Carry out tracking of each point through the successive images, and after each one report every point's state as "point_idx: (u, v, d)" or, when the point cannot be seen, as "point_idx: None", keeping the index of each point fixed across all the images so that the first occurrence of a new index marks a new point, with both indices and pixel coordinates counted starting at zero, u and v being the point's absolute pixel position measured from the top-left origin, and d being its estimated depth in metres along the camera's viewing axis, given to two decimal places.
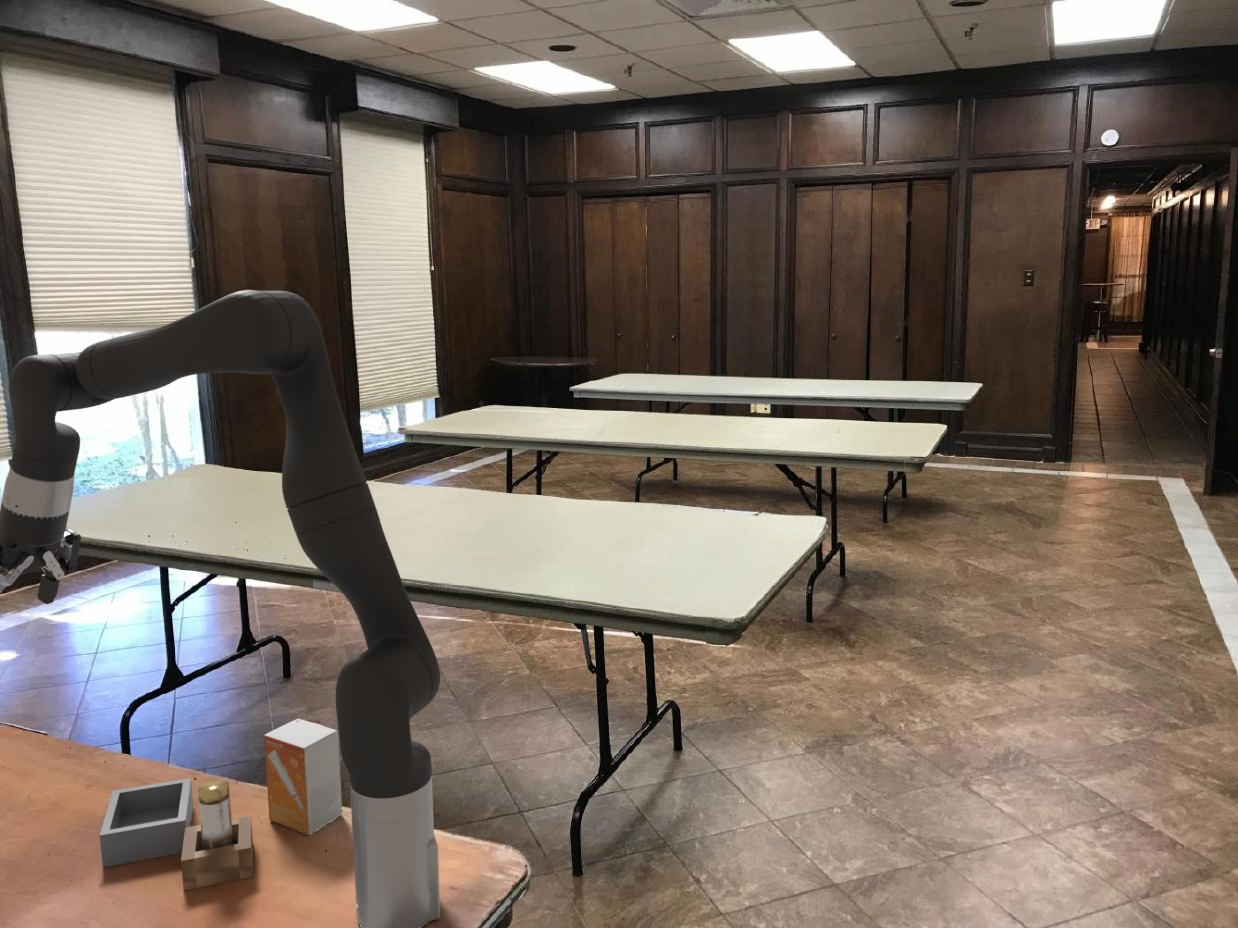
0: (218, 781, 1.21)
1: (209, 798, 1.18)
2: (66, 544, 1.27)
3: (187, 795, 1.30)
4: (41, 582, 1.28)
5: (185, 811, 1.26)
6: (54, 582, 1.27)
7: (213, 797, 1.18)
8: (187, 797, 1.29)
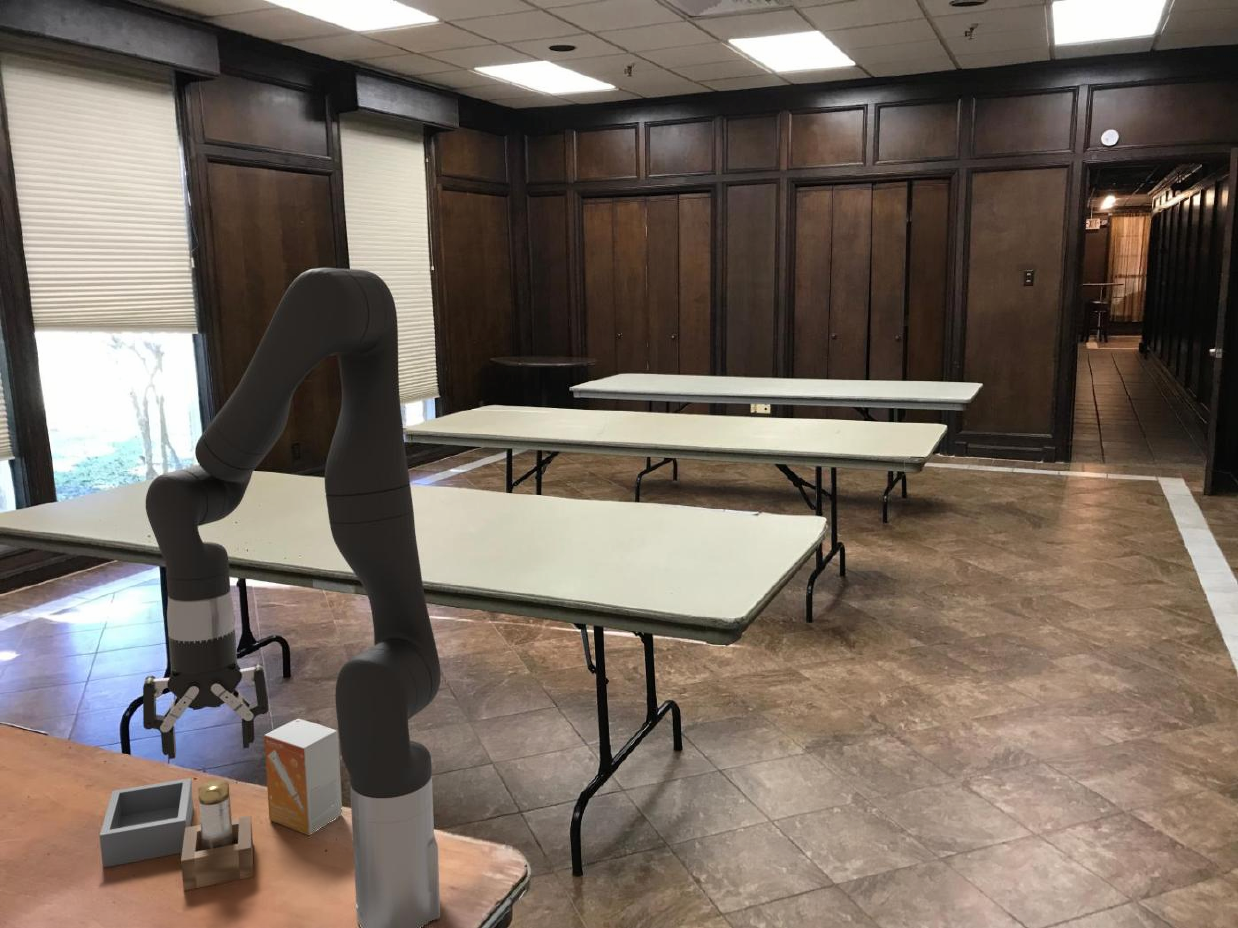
0: (218, 781, 1.21)
1: (209, 798, 1.18)
2: (251, 680, 1.18)
3: (187, 795, 1.30)
4: None
5: (185, 811, 1.26)
6: (243, 722, 1.18)
7: (213, 797, 1.18)
8: (187, 797, 1.29)
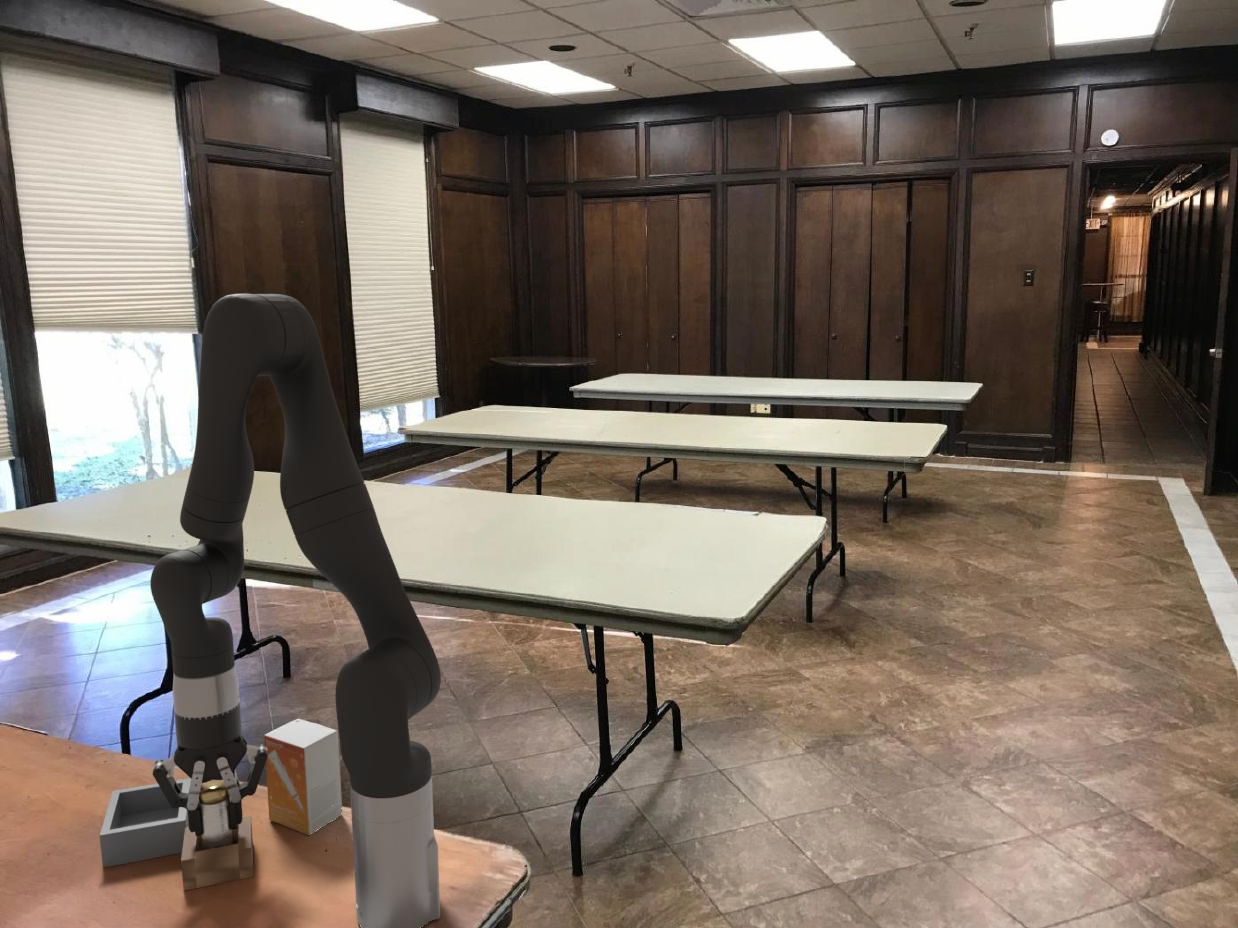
0: (218, 781, 1.21)
1: (209, 798, 1.18)
2: (252, 759, 1.20)
3: None
4: None
5: (185, 811, 1.26)
6: (230, 804, 1.19)
7: (213, 797, 1.18)
8: None
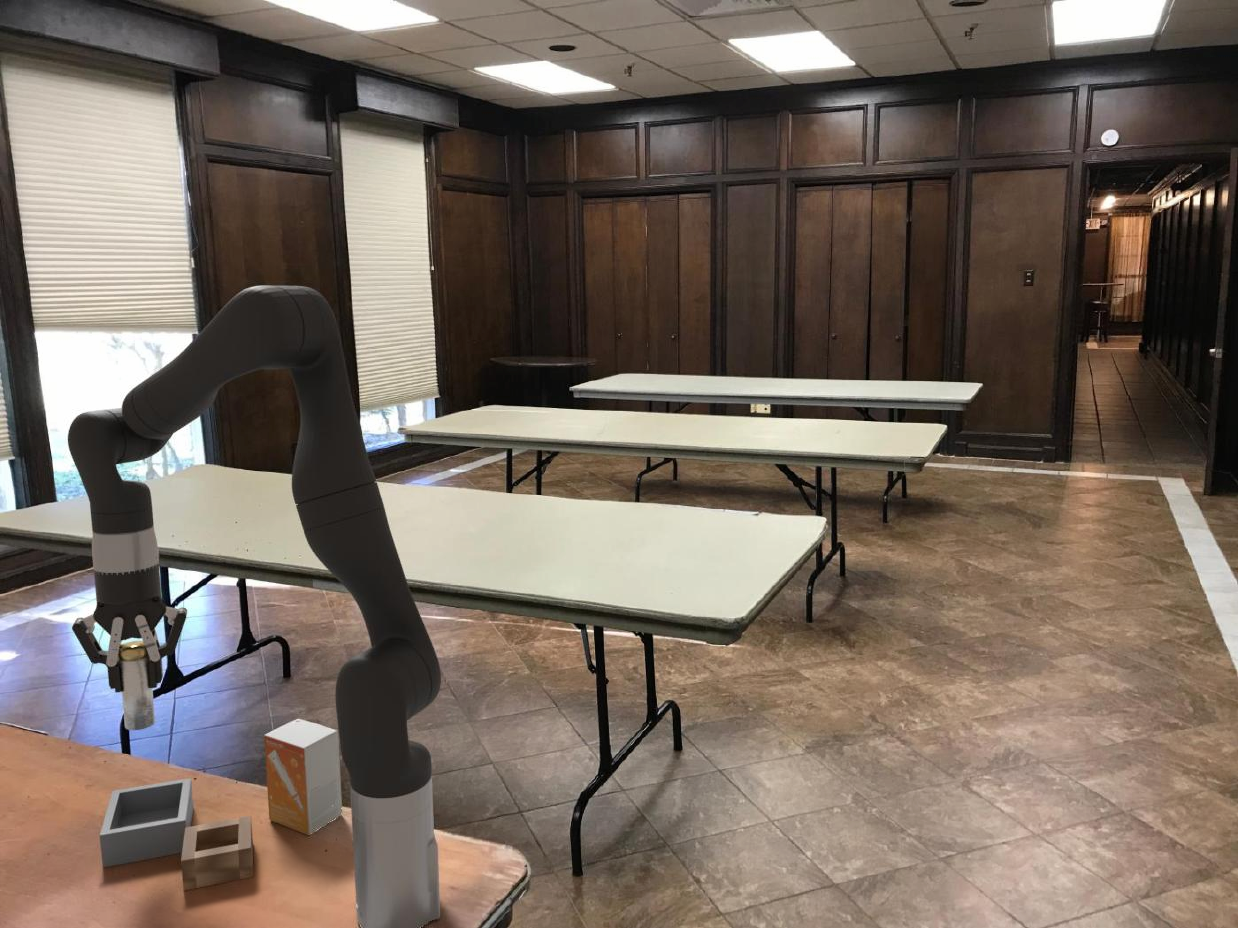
0: (139, 642, 1.25)
1: (128, 655, 1.22)
2: (171, 620, 1.24)
3: (187, 795, 1.30)
4: None
5: (185, 811, 1.26)
6: (150, 663, 1.23)
7: (132, 654, 1.22)
8: (187, 797, 1.29)
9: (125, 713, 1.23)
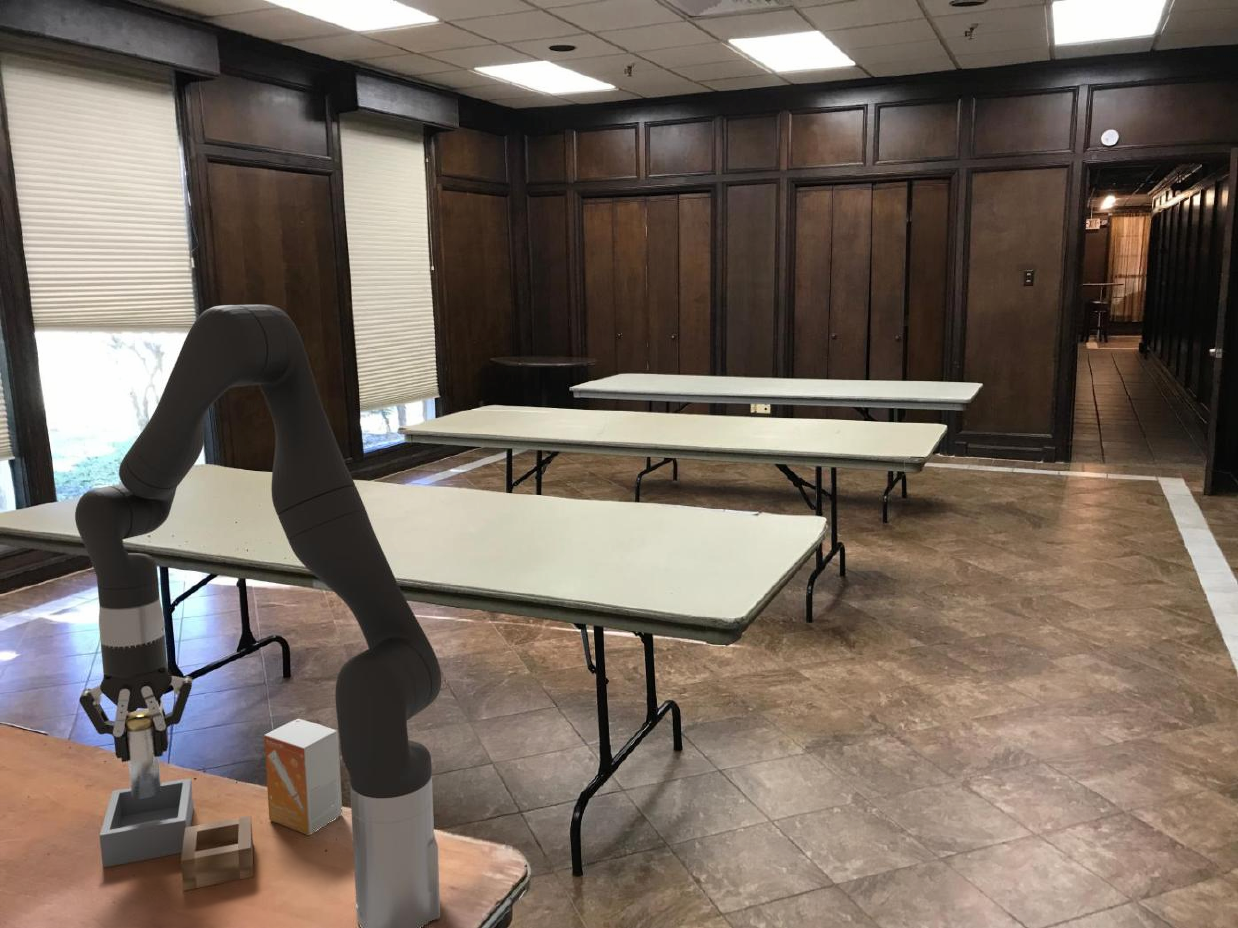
0: (145, 710, 1.26)
1: (135, 725, 1.23)
2: (177, 689, 1.26)
3: (187, 795, 1.30)
4: None
5: (185, 811, 1.26)
6: (156, 732, 1.25)
7: (138, 724, 1.24)
8: (187, 797, 1.29)
9: (132, 781, 1.25)
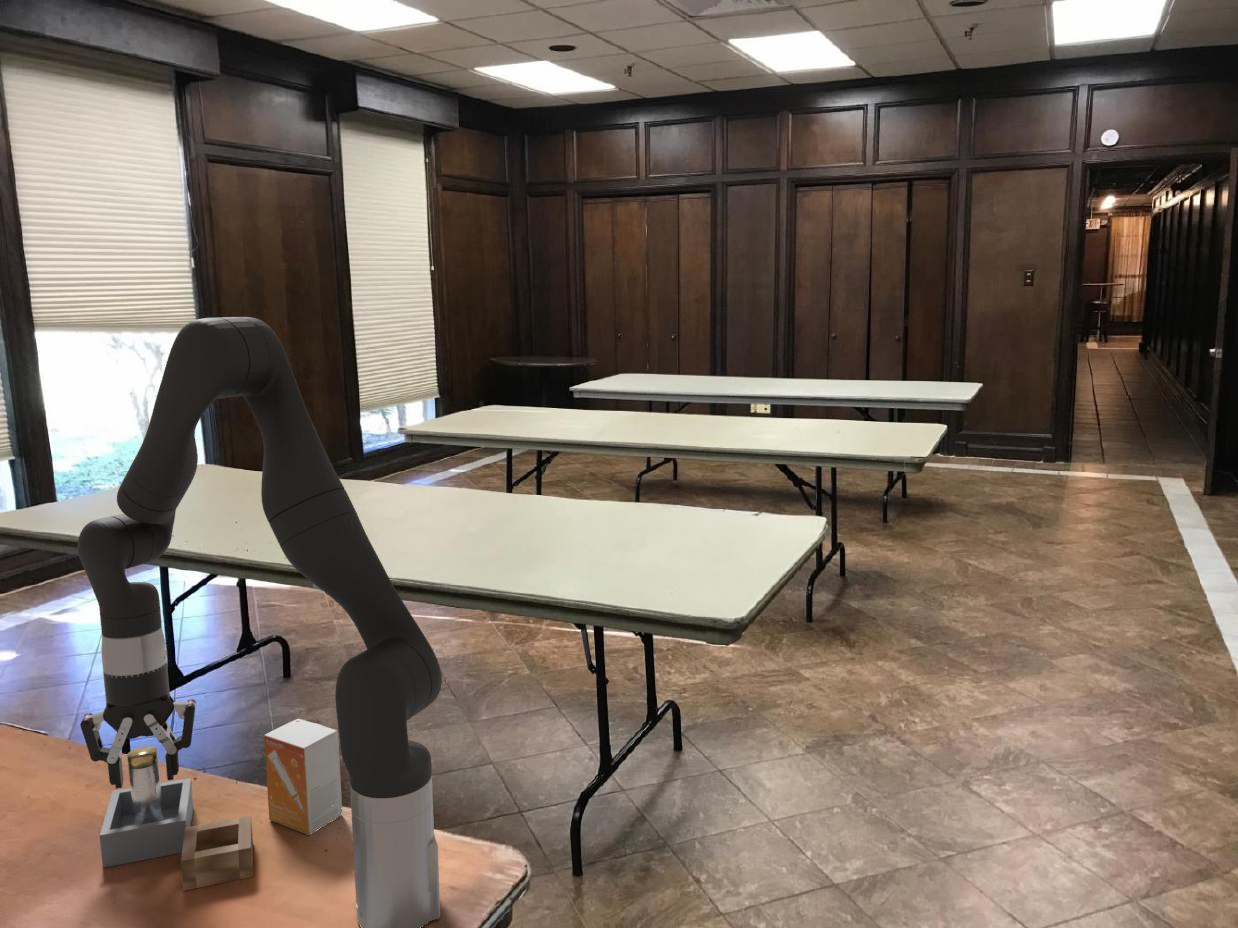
0: (147, 747, 1.27)
1: (137, 763, 1.24)
2: (181, 714, 1.26)
3: (187, 795, 1.30)
4: None
5: (185, 811, 1.26)
6: (166, 756, 1.26)
7: (141, 761, 1.25)
8: (187, 797, 1.29)
9: (136, 819, 1.26)
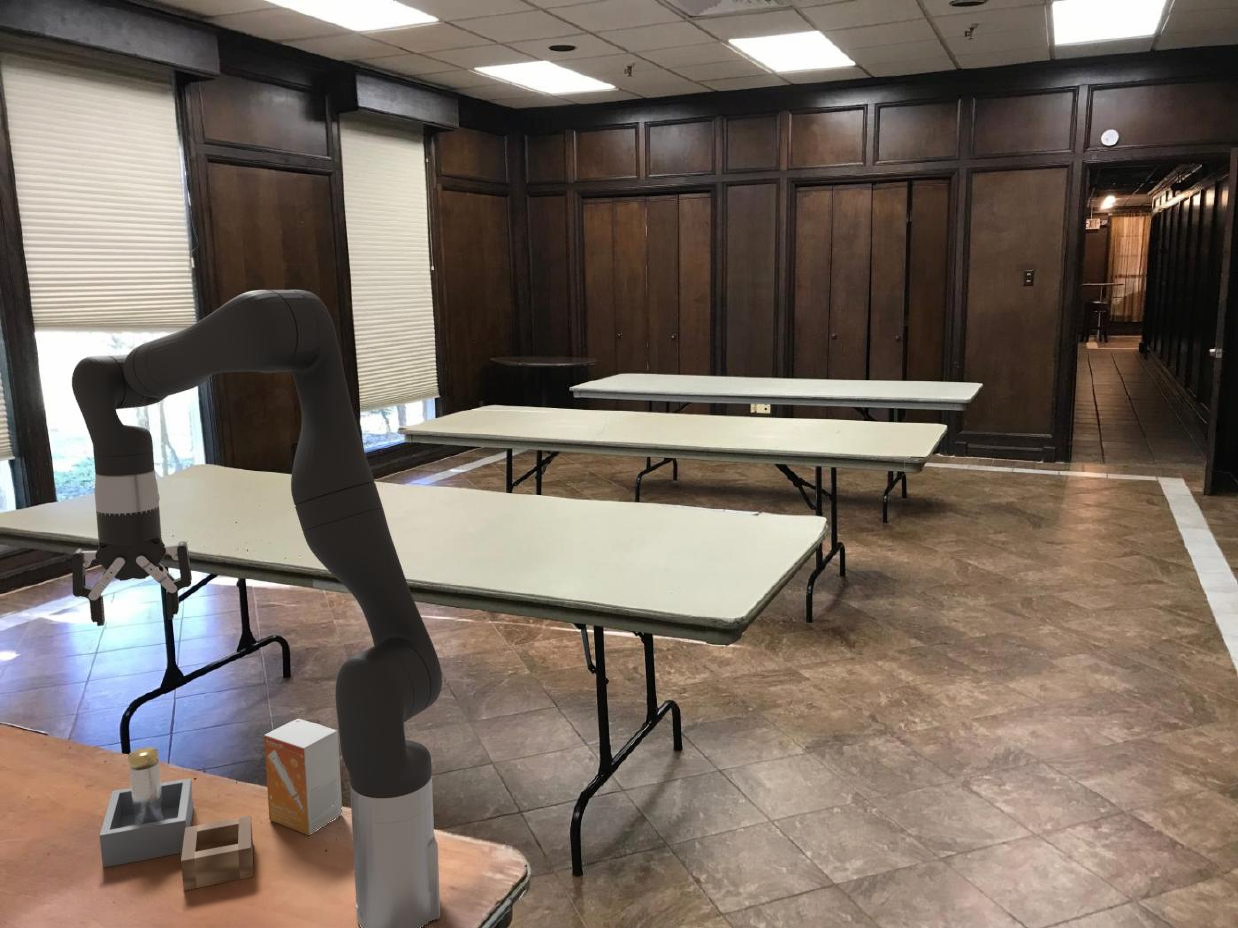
0: (148, 748, 1.27)
1: (138, 764, 1.24)
2: (174, 556, 1.28)
3: (187, 795, 1.30)
4: None
5: (185, 811, 1.26)
6: (167, 594, 1.28)
7: (142, 763, 1.24)
8: (187, 797, 1.29)
9: (136, 819, 1.26)
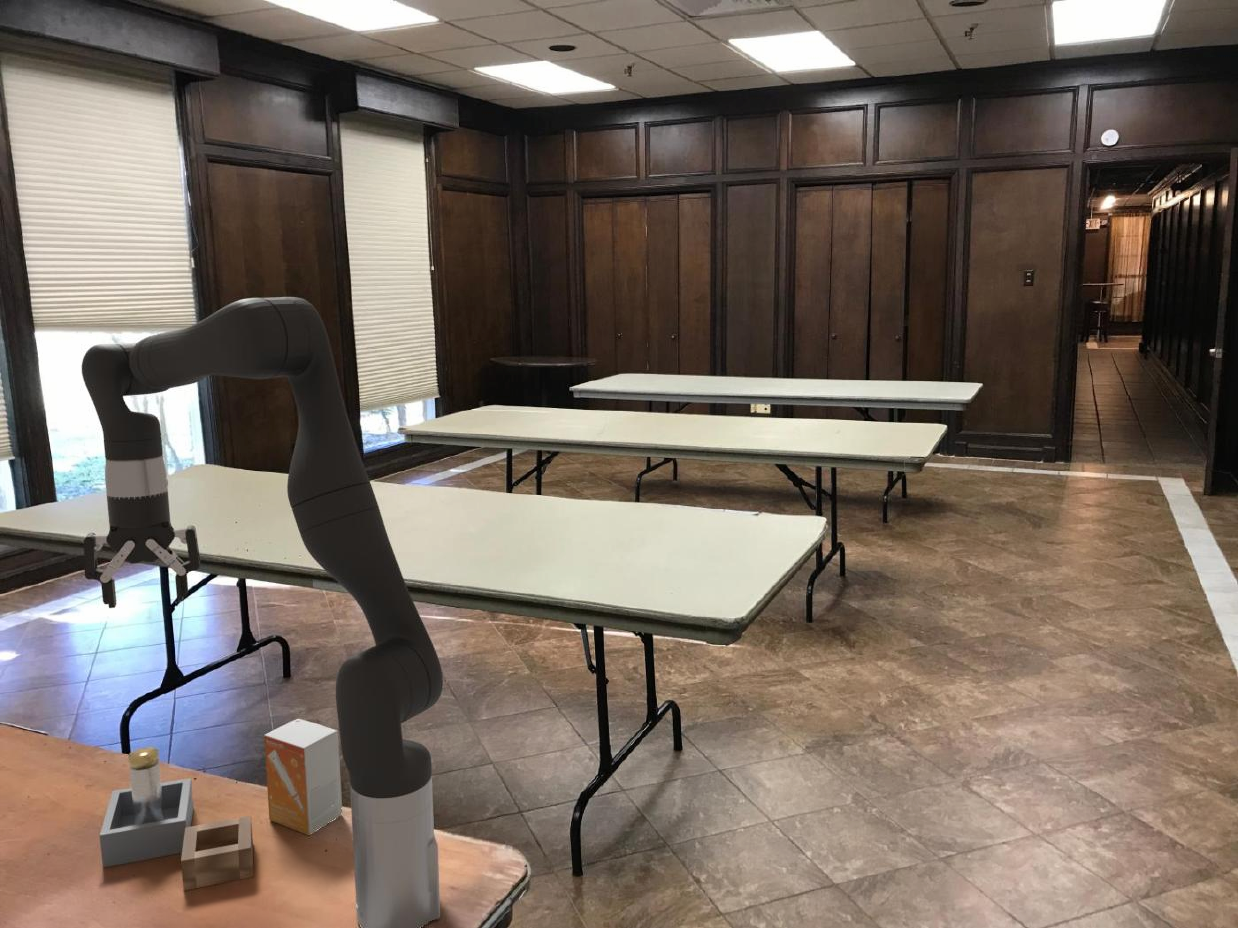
0: (148, 748, 1.27)
1: (139, 764, 1.24)
2: (183, 539, 1.31)
3: (187, 795, 1.30)
4: None
5: (185, 811, 1.26)
6: (176, 577, 1.31)
7: (142, 763, 1.24)
8: (187, 797, 1.29)
9: (136, 819, 1.26)
